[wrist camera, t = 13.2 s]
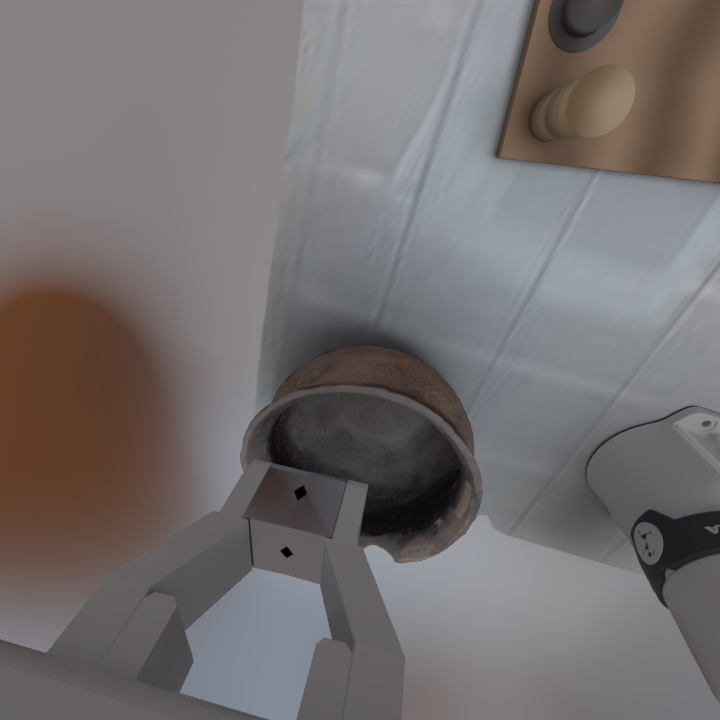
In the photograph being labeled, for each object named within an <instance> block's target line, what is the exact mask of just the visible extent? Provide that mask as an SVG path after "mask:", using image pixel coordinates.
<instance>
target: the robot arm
mask: <svg viewBox="0 0 720 720" xmlns="http://www.w3.org/2000/svg"><path fill="white" fill-rule="evenodd" d="M704 421H705V422H704ZM587 481H588V484H589V486H590V488H591V490H592V491H593V492H594V493H595V495H596V496H597V497H598V498H599V499H600V500H601V501H602V503H603V504H604V505H605V506H606V508H607V509H608V511H609V514H610V516H611V517H612V519H613V520H614V521H615V523H617V524H619V526H620V527H621V529H622V530H623V532H624V533H625V535H626V536H627V538H628V539H629V541H630V542H631V544H632V545H633V547H634V548H635V551H636V554H637V557H638V560H639V563H640V565H641V567H642V569H643V571H644V573H645V575H646V577H647V579H648V580H649V582H650V585H651V587H652V589H653V591H654V592H655V593H656V595H657V597H658V599H659V600H660V602H661V603H662V604H663V605H664V606H665V607H666V608H668V609H669V610H670V612H671V614H672V616H673V618H674V620H675V622H676V624H677V625H678V628H679V629H680V631H681V633H682V635H683V637H684V639H685V641H686V643H687V645H688V647H689V649H690V651H691V653H692V654H693V657H694V659H695V660H696V662H697V664H698V666H699V668H700V670H701V672H702V674H703V676H704V678H705V680H706V682H707V683H708V685H709V687H710V689H711V691H712V693H713V695H714V696H715V697H716V699H717V700H718V701H719V702H720V414H718V413H715V412H712V411H710V410H707V409H704V408H701V407H690V408H687V409H684V410H682V411H680V412H678V413H676V414H674V415H672V416H670V417H668V418H666V419H665V420H662V421H659V422H655V423H651V424H646V425H642V426H639V427H635V428H632V429H630V430H627V431H625V432H622V433H620V434H618V435H617V436H615V437H613V438H611V439H610V440H608V441H607V442H606V443H604V444H603V445H602V446H601V447H600V448H599V449H598V450H597V451H596V452H595V454H594V455H593V456H592V458H591V460H590V462H589V464H588V467H587ZM367 490H368V484H365V483H360V482H356V481H351V480H348V479H343V478H339V477H334V476H329V475H324V474H319V473H314V472H307V471H303V470H299V469H295V468H291V467H287V466H283V465H279V464H275V463H270V462H266V461H262V460H257V459H254V460H253V461H252V462H250V463H249V465H248V466H247V468H246V470H245V471H244V473H243V475H242V476H241V478H240V479H239V481H238V483H237V484H236V486H235V488H234V489H233V491H232V493H231V494H230V496H229V497H228V499H227V501H226V502H225V504H224V506H223V507H222V509H221V511H220V512H216V511H213V512H211V513H210V514H208V515H206V516H205V517H203V518H201V519H200V520H198V521H196V522H195V523H193V524H192V525H190V526H188V527H187V528H185V529H183V530H182V531H180V532H179V533H177V534H175V535H174V536H172V537H170V538H169V539H167V540H165V541H164V542H162V543H160V544H159V545H157V546H156V547H154V548H153V549H151V550H149V551H147V552H146V553H144V554H142V555H141V556H140V557H138V558H136V559H134V560H133V561H131V562H129V563H128V564H126V565H125V566H123V567H121V568H120V569H118V570H116V571H115V572H113V573H111V574H110V575H108V576H107V577H106V578H105V579H104V580H103V582H102V583H101V584H100V586H99V587H98V588H97V589H96V591H95V592H94V593H93V595H92V596H91V597H90V598H89V600H88V601H87V602H86V603H85V605H84V606H83V607H82V608H81V610H80V611H79V612H78V614H77V615H76V616H75V617H74V619H73V620H72V621H71V623H70V624H69V625H68V626H67V627H66V629H65V630H64V632H63V633H62V634H61V635H60V636H59V638H58V639H57V640H56V641H55V643H54V644H53V645H52V647H51V648H50V649H49V650H48V652H47V653H44V652H41V651H37V650H34V649H31V648H27V647H24V646H20V645H17V644H14V643H11V642H7V641H4V640H0V720H268V719H265V718H261V717H258V716H255V715H251V714H248V713H244V712H241V711H238V710H235V709H231V708H228V707H225V706H221V705H218V704H215V703H211V702H208V701H204V700H201V699H198V698H194V697H191V696H188V695H184V694H181V693H179V692H180V690H181V688H182V685H183V683H184V681H185V679H186V677H187V675H188V673H189V670H190V668H191V666H192V664H193V657H192V652H191V649H190V646H189V643H188V640H187V637H186V633H185V630H186V629H187V628H188V627H190V626H191V625H192V624H193V623H194V622H195V621H196V620H197V619H198V618H199V617H201V616H202V615H203V614H204V613H205V612H206V611H207V610H208V609H209V608H210V607H212V606H213V605H214V604H215V603H216V602H217V601H218V600H219V599H220V598H221V597H223V596H224V595H225V594H226V593H227V592H228V591H229V590H230V589H231V588H233V586H235V585H236V584H237V583H238V582H239V581H240V580H241V579H242V578H243V577H245V576H246V575H247V574H248V573H249V572H250V571H251V570H252V567H254V568H259V569H263V570H268V571H272V572H277V573H282V574H286V575H289V576H293V577H297V578H300V579H303V580H307V581H311V582H314V583H317V584H320V587H321V592H322V596H323V601H324V605H325V609H326V614H327V618H328V623H329V627H330V632H331V636H332V639H328V638H323V639H322V640H321V641H320V642H318V643H317V644H316V647H315V651H314V655H313V659H312V663H311V667H310V670H309V674H308V678H307V682H306V686H305V689H304V693H303V697H302V701H301V705H300V709H299V712H298V716H297V720H401V712H402V697H403V681H404V664H405V656H404V654H403V651H402V648H401V646H400V643H399V641H398V638H397V635H396V633H395V630H394V628H393V625H392V623H391V620H390V618H389V615H388V612H387V610H386V607H385V605H384V602H383V599H382V597H381V594H380V592H379V589H378V586H377V584H376V581H375V579H374V576H373V574H372V571H371V569H370V566H369V563H368V561H367V558H366V555H365V553H364V550H363V548H362V546H358V541H359V536H360V531H361V525H362V519H363V513H364V507H365V501H366V496H367Z"/></svg>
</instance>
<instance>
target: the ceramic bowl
mask: <svg viewBox="0 0 720 720" xmlns="http://www.w3.org/2000/svg"><path fill="white" fill-rule="evenodd" d="M240 456H241V464H242V469H243V471H245V470H246V468H247V466H248V465H249V463H250V462H252V461H253V460H254V459H257V460H262V461H266V462H270V463H275V464H279V465H283V466H287V467H291V468H295V469H299V470H303V471H307V472H314V473H319V474H324V475H329V476H334V477H339V478H343V479H348V480H351V481H356V482H360V483H365V484H368V490H367V496H366V501H365V507H364V513H363V519H362V525H361V531H360V536H359V541H358V546H362V548H363V549H364V548H365V547H367V546H369V545H376V546H378V547H380V548H383V549H384V550H386V551H387V552H388V553H389V554H390V555H391V556H392V557H393V559H394V561H395V562H398V563H406V562H415V561H422V560H425V559H428V558H430V557H432V556H434V555H437V554H439V553H440V552H442V551H443V550H445V549H446V548H448V547H449V546H450V545H452V544H453V543H454V542H455V541H456V540H457V539H459V538H460V537H461V536H463V535H464V534H466V532H467V530H468V529H469V527H470V525H471V524H472V522H473V521H474V520H475V519H476V515H477V512H478V510H479V507H480V503H481V499H482V493H483V490H482V481H481V476H480V471H479V468H478V466H477V464H476V462H475V459H474V457H473V456H474V440H473V432H472V429H471V424H470V422H469V419H468V417H467V414H466V412H465V410H464V407H463V406H462V404H461V401H460V399H459V398H458V397H457V395H456V394H455V392H454V391H453V389H452V388H451V386H450V385H449V384H448V383H447V382H446V380H445V379H444V378H443V377H442V376H440V375H439V374H438V373H437V372H436V371H435V370H434V369H433V368H431V367H430V366H429V365H427V364H425V363H424V362H422V361H421V360H419V359H417V358H415V357H413V356H411V355H408V354H406V353H404V352H402V351H399V350H395V349H390V348H386V347H379V346H371V345H367V346H348V347H342V348H336V349H333V350H330V351H327V352H325V353H323V354H321V355H319V356H317V357H315V358H313V359H312V360H310V361H309V362H307V363H306V364H304V365H302V366H301V367H299V368H297V369H296V370H295V371H294V372H293V373H292V374H291V375H290V376H289V377H288V378H287V379H286V380H285V381H284V382H283V384H282V385H281V386H280V387H279V389H278V391H277V392H276V395H275V397H274V399H273V401H272V403H271V404H270V405H268V406H266V407H265V408H264V409H263V410H262V411H260V412H259V413H258V414H257V415H256V416H255V418H254V419H253V420H252V422H251V423H250V425H249V427H248V429H247V431H246V433H245V436H244V438H243V445H242V451H241V455H240Z"/></svg>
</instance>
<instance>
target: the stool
mask: <svg viewBox="0 0 720 720" xmlns="http://www.w3.org/2000/svg"><path fill="white" fill-rule="evenodd" d="M565 1H566V0H536V2H535V6H534V10H533V14H532V18H531V22H530V26H529V30H528V34H527V38H526V42H525V46H524V49H523V53H522V57H521V61H520V65H519V69H518V73H517V77H516V81H515V85H514V89H513V93H512V97H511V101H510V105H509V109H508V112H507V116H506V120H505V124H504V128H503V132H502V136H501V140H500V144H499V148H498V152H497V156H496V157H498V158H506V159H515V160H524V161H532V162H541V163H550V164H559V165H567V166H576V167H585V168H594V169H602V170H611V171H620V172H628V173H637V174H646V175H655V176H663V177H672V178H681V179H690V180H698V181H707V182H716V183H720V0H624V2H623V4H622V6H621V8H620V9H619V11H618V12H617V14H616V15H615V16H614V17H613V18H612V19H611V20H610V21H609V22H608V23H606V24H605V25H604V26H602V27H601V28H600V29H598V30H597V31H596V32H594V33H593V34H591V35H589V36H586V37H582V38H577V37H573V36H571V35H570V34H568V33H567V31H566V30H565V28H564V26H563V21H562V12H563V7H564V4H565Z"/></svg>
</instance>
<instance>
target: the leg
mask: <svg viewBox="0 0 720 720" xmlns="http://www.w3.org/2000/svg"><path fill="white" fill-rule="evenodd" d="M623 2H624V0H566V1H565V4H564V7H563V12H562V21H563V26H564V28H565V30H566V31H567V33H568V34H570V35H571V36H573V37H577V38H582V37H586V36H589V35H591V34H593V33H594V32H596V31H597V30H598V29H600V28H601V27H602V26H604V25H605V24H606V23H608V22H609V21H610V20H611V19H612V18H613V17H614V16H615V15H616V14H617V12H618V11H619V9H620V8H621V6H622V4H623Z"/></svg>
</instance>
